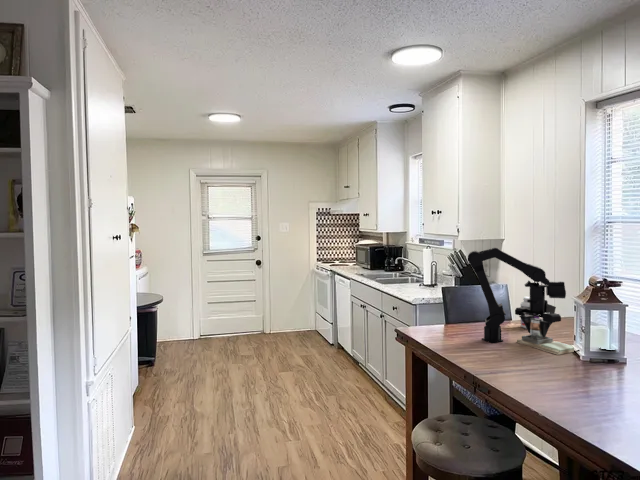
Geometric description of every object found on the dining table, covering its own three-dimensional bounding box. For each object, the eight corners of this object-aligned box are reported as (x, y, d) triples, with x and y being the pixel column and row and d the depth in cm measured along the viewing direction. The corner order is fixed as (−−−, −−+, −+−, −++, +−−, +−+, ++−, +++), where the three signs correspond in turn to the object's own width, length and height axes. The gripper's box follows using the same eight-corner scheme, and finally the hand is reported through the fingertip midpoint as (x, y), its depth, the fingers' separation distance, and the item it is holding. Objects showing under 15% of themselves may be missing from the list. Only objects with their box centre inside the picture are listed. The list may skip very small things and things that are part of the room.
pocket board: (557, 354, 176) (557, 348, 176) (516, 342, 195) (516, 336, 195) (580, 350, 181) (580, 344, 181) (538, 338, 199) (538, 332, 199)
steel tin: (537, 345, 189) (537, 321, 188) (527, 342, 194) (527, 319, 193) (547, 344, 191) (547, 320, 190) (536, 341, 196) (536, 317, 195)
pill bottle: (542, 329, 215) (542, 298, 215) (524, 329, 215) (524, 299, 215) (534, 325, 223) (534, 295, 223) (517, 325, 224) (517, 296, 223)
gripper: (571, 299, 186) (570, 337, 187) (533, 292, 203) (533, 328, 204) (550, 301, 182) (550, 341, 182) (514, 295, 199) (514, 331, 200)
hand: (537, 335), depth 192 cm, fingers open, 7 cm apart
